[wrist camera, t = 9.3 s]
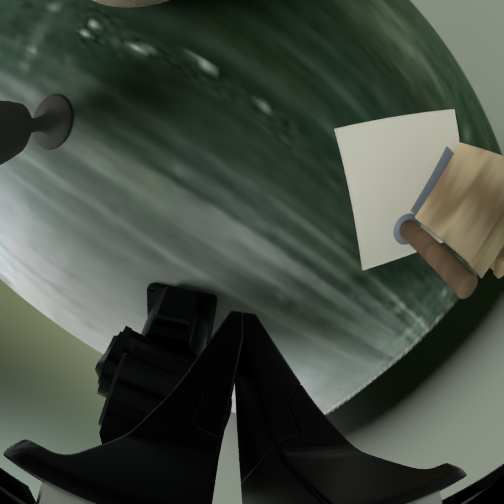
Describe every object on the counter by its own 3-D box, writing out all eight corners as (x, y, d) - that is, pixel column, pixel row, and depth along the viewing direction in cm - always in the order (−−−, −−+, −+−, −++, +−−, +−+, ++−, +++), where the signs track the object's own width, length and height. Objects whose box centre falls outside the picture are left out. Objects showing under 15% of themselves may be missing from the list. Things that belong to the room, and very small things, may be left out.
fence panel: (421, 225, 21) (481, 278, 13) (412, 217, 20) (474, 269, 13) (467, 150, 17) (538, 177, 10) (459, 140, 17) (532, 164, 9)
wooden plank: (399, 240, 22) (456, 302, 14) (398, 222, 21) (460, 280, 13) (462, 218, 21) (523, 265, 13) (462, 201, 20) (527, 245, 12)
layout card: (361, 268, 24) (363, 270, 23) (334, 128, 18) (335, 128, 18) (460, 233, 22) (462, 234, 22) (452, 109, 16) (454, 109, 16)
